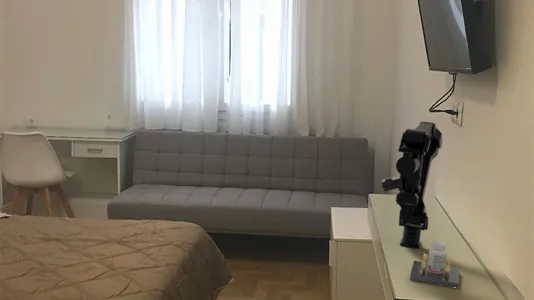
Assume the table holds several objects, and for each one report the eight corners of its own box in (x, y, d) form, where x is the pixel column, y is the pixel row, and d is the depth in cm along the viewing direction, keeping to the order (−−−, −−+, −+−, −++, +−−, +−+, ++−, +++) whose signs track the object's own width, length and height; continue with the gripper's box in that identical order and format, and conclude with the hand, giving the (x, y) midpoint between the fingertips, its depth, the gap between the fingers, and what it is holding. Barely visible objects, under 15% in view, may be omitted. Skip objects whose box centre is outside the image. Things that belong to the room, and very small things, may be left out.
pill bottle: (425, 267, 173) (429, 239, 172) (442, 269, 173) (446, 241, 171) (428, 273, 168) (431, 244, 167) (445, 275, 168) (449, 246, 167)
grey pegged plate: (413, 265, 179) (415, 249, 178) (458, 273, 175) (460, 257, 174) (409, 279, 166) (411, 262, 166) (458, 288, 163) (460, 271, 162)
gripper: (388, 162, 192) (382, 208, 195) (381, 172, 175) (375, 223, 177) (423, 166, 189) (417, 213, 192) (420, 177, 172) (413, 229, 174)
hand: (405, 219), depth 184 cm, fingers open, 9 cm apart
